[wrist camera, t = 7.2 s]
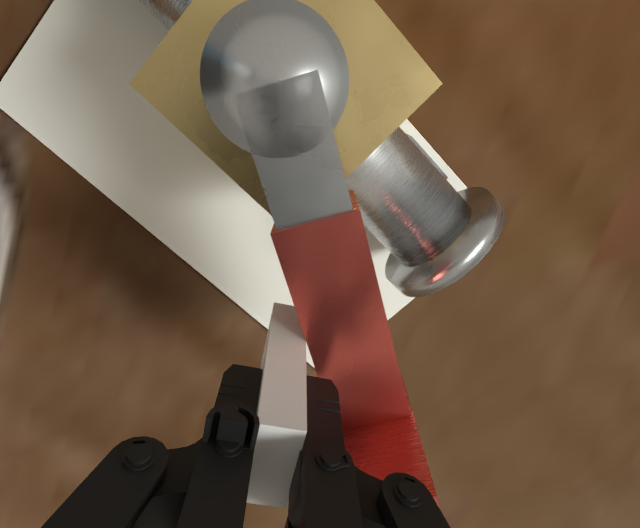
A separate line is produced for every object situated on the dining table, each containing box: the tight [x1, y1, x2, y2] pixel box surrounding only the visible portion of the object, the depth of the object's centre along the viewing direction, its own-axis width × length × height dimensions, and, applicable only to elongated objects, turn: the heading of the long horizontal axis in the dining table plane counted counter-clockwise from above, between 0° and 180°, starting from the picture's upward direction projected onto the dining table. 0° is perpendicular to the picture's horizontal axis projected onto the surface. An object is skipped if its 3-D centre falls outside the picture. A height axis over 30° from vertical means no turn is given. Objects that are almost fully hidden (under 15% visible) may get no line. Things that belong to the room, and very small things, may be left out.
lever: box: [200, 0, 440, 509], centre depth 14 cm, size 17×4×6 cm, turn 15°
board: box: [0, 0, 467, 368], centre depth 24 cm, size 25×15×1 cm, turn 45°
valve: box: [129, 0, 505, 297], centre depth 18 cm, size 22×8×10 cm, turn 45°
